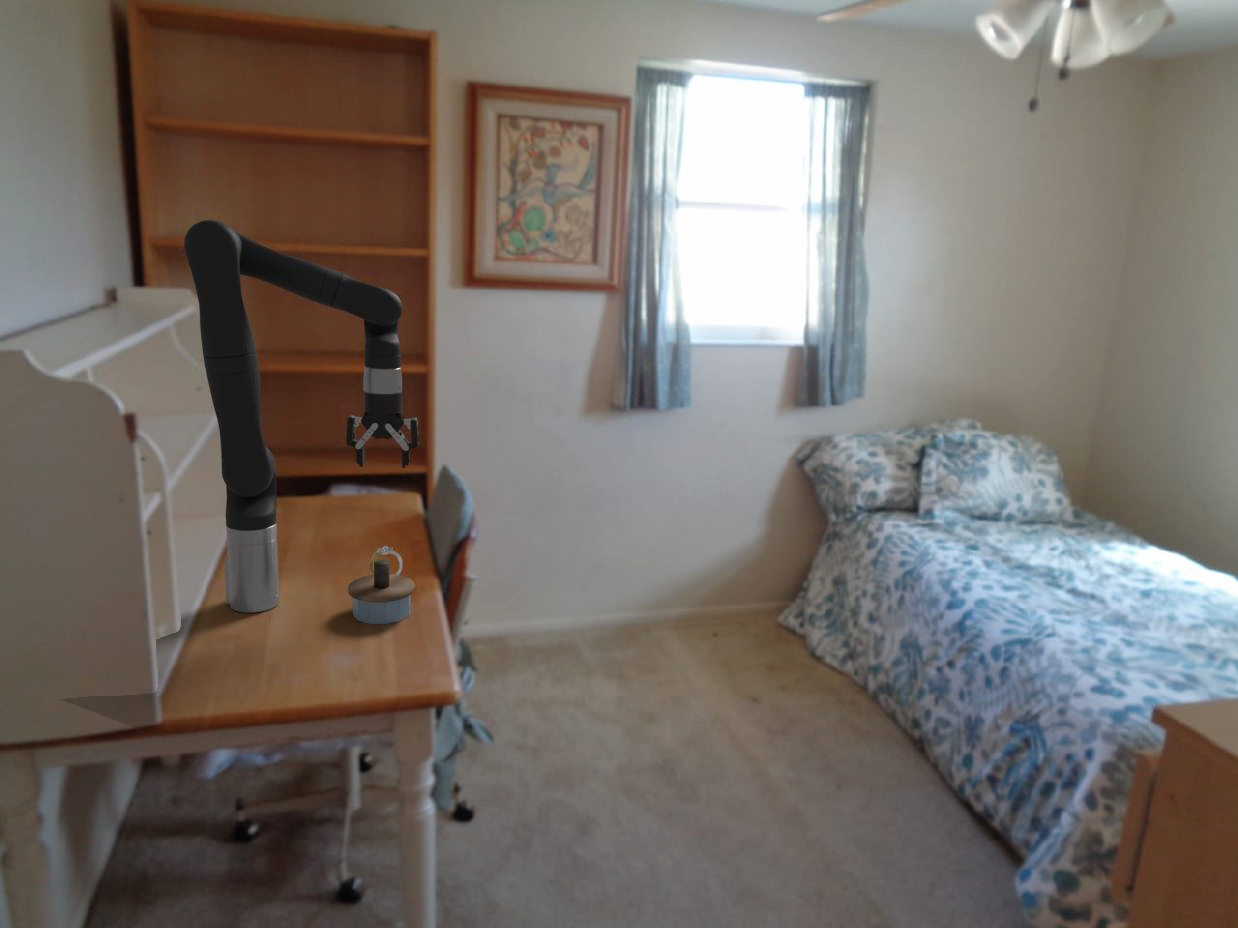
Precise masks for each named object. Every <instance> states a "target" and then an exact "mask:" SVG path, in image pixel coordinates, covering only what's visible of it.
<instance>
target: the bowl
mask: <svg viewBox="0 0 1238 928" xmlns="http://www.w3.org/2000/svg"><path fill="white" fill-rule="evenodd" d="M411 595H412V594H411ZM411 595H410V596H408V597H406V598H403V599H400V600H396V601H391V602H365V601H360V600H357V599H355V598H353V597H352V616H353V617H354V618H355V619H356V620H357V621H359V622H362V623H365V624H370V625H388V624H393V623H396V622H401V621H403V620H405V619H406V618H407V617H409V616H410V615H411V603H412V602H411V599H412V597H411Z"/></svg>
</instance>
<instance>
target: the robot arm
mask: <svg viewBox="0 0 1238 928" xmlns="http://www.w3.org/2000/svg"><path fill="white" fill-rule="evenodd" d="M183 249H184V252H185V256H186V258H187V259H186V260H187V262H188V266H189V269H190V271H191V275H192V279H193V282H194V286H195V290H196V294H197V299H198V300H197V301H198V309H199V310H198V311H199V328H200V339H201V348H202V349H201V350H202V356H203V362H204V368H205V375H206V379H207V383H208V384H207V385H208V388H209V393H210V396H211V400H212V402H211V403H212V404H213V405H212V406H213V409H214V413H215V417H216V420H217V424H218V431H219V439H220V458H221V461H220V462H221V476H222V480H223V482H224V484H225V488H226V489H225V490H226V503H225V506H226V507H225V525H226V526H225V528H226V545H227V547H226V548H227V549H226V550H227V558H225V559H224V579H225V580H224V581H225V597H226V598H225V601H226V602H225V604H226V605H229V607H230V608H231V610H233V611H235V612H240V613H248V614H249V613H259V612H264V611H265V612H266V611H268V610H270V609H274V608H275V607H277V606H278V605H279V603H280V593H279V591H280V590H279V587H280V585H279V582H280V581H279V561H278V560H279V559H278V557H279V556H278V532H277V531H278V530H277V471H276V466H277V465H276V460H275V457H274V455H273V453H272V452H271V450H270V449H269V448H268V447H267V446H266V445H265V440H264V436H263V429H262V426H261V424H262V422H261V397H262V395H261V375H260V373H261V372H260V365H259V359H258V353H257V352H258V351H257V346H256V342H255V337H254V333H253V330H252V327H251V322H250V320H249V317H248V314H247V311H246V307H245V305H244V302H243V295H242V287H241V286H242V285H241V276H246V277H248V278H249V277H250V278H253V279H257V280H260V281H262V282H265V283H268V284H270V285H273V286H275V287H277V288H280V289H282V290H285V291H287V292H289V293H291V294H294V295H296V296H298V297H301V298H304V299H306V300H308V301H312V302H314V303H317V304H318V305H319V304H320V305H322V306H325V307H328V308H331V309H334V310H338V311H342V312H346V313H348V314H350V315H353V316H355V317H357V318H359V319H362V320H363V326H364V328H363V329H364V336H365V340H364V341H365V342H364V371H363V383H362V388H363V389H362V390H363V416H356V415H354V414H351V415H350V416H348V417H347V419H346V420H347V422H346V438H345V440H346V441H345V444H346V446H348V447H353V448H354V449H355V456H356V457H355V461H356V464H357V465H358V467H360V468H364V467H365V463H366V462H365V459H366V456H365V454H366V453H365V449H366V447H364V445H365V444H366V443H367V441H368V440H370V438H374V440H375V439H376V440H377V439H378V440H379V439H383V440H384V439H385V440H391V439H392V438H393V439H394V440H395V441H396V443H397V444H399V446H400V447H401V448H402V451H401V468H402V469H406V468H407V467H408V466H409V465H410V463H411V450H412V449H416V448H418V447H419V445H420V436H419V420H418V418H417V417H416V416H415V417H412V418H404V417H403V375H402V368H401V367H402V351H401V350H402V349H401V343H400V339H399V320H400V319H401V317H402V314H403V303H402V301H401V299H400V297H399V296H398V295H397V294H396V293H395V292H393V291H392V290H390V289H387V288H385V287H384V288H383V287H378V286H376V285H372V284H370V283H366V282H364V281H361V280H358V279H355V278H353V277H352V276H350V275H348V274H345V273H344V272H340V271H338V270H335V269H331V268H329V267H327V266H323V265H321V264H319V263H315V262H313V261H309V260H305V259H301V258H299V257H295V256H293V255H288V254H286V253H283V252H280V251H277V250H275V249H271V248H269V247H267V246H265V245H263V244H260V243H258V242H256V241H254V240H252V239H250V238H248V237H246V236H244V235H243V234H241V233H239V232H237V231H236V230H234V229H233V228H232V227H231V226H230V225H227V224H226V223H224V222H221V221H219V220H214V219H213V220H212V219H207V220H206V219H205V220H201V221H198V222H196V223H194V224H192V226H191V227H190V228H189V229H188V230H187V231H186V233H185V235H184V239H183ZM360 424H361V425H362V426H363V427H364V429H365V430H366V432H365V433H364V434H363V435H362V437H360V439H359V440H358V439H355V438H356V428H358V426H359V425H360ZM404 425H405V426H406V427H407V429H408V430H410V436H411V437H410V438H411V441H409V440H407V438H406V436H405V434H404V433H403V432H402V431H401V429H402V428H403V426H404Z"/></svg>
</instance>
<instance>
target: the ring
mask: <svg viewBox="0 0 1238 928" xmlns="http://www.w3.org/2000/svg"><path fill="white" fill-rule="evenodd" d="M393 548H394V547H388V545H383V546H382V547H380V548H379V547H378V548H377V550H376V551H375V552H374V553H373V555H372V556H371V559H370V561H369V570H370V572H371V575H374V562H375V561H377V559H379V558H381V557H382V556H383V555H388V554H389V555H390V554H391V555H392V556H394V557H396V559H397V560H398V566H399V567H398V569H397V571H396V573H394V575H400V574H401V572H402V570H403V566H404V565H403V564H404V562H403V558H402V556H401V555H400V553H398V552H397V551H395V550H393Z"/></svg>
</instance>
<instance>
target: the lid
mask: <svg viewBox="0 0 1238 928" xmlns="http://www.w3.org/2000/svg"><path fill="white" fill-rule="evenodd" d="M373 568H374V575H373V574H371V575H365V576H362V577H359V578H358V577H357V578H356V579H354V580H352V581H351V582H350V583H348V587H347V591H348V592H347V593H348V595H349V596H350V597H351V598H352V599H353V598H355V599H357V600H360V601H365V602H391V601H396V600H400V599H403V598H406V597H408V596H410V595H413V593H414V592H415V590H416V589H415V588H416V583H415V581H413V579H411V578H409V577H407V576H403V575H400V574H399V575H394V574H395V573H394V574H393V573H390V560H386V559H378V560H375V561H374V563H373Z"/></svg>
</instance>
